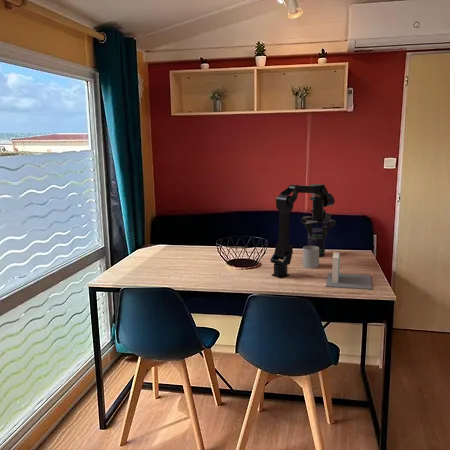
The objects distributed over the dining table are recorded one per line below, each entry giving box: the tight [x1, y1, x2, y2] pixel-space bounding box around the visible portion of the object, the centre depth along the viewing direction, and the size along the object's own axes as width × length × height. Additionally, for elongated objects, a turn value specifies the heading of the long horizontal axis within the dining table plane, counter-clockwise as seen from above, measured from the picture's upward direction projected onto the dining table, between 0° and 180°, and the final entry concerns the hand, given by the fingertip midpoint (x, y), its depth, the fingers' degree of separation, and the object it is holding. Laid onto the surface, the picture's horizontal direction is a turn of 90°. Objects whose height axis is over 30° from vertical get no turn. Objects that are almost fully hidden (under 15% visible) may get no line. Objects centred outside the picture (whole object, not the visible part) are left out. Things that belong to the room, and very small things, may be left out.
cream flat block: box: [331, 251, 341, 283], centre depth 215 cm, size 3×10×12 cm, turn 165°
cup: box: [302, 245, 320, 270], centre depth 239 cm, size 8×8×10 cm
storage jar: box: [307, 227, 326, 258], centre depth 260 cm, size 10×10×15 cm
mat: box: [325, 272, 373, 291], centre depth 215 cm, size 20×20×1 cm
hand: (317, 237), depth 241 cm, fingers open, 9 cm apart
